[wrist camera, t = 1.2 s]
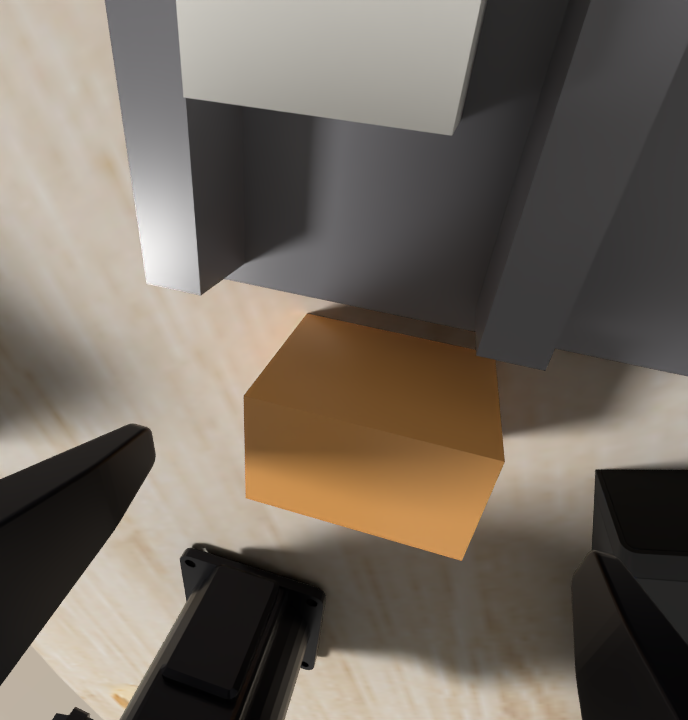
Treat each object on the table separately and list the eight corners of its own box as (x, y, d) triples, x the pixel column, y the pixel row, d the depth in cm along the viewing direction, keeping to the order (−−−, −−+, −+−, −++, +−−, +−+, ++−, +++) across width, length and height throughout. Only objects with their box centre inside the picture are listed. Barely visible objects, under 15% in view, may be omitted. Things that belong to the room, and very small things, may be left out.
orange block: (494, 352, 11) (504, 461, 8) (464, 439, 13) (461, 560, 9) (307, 312, 12) (243, 395, 8) (301, 399, 13) (245, 498, 10)
